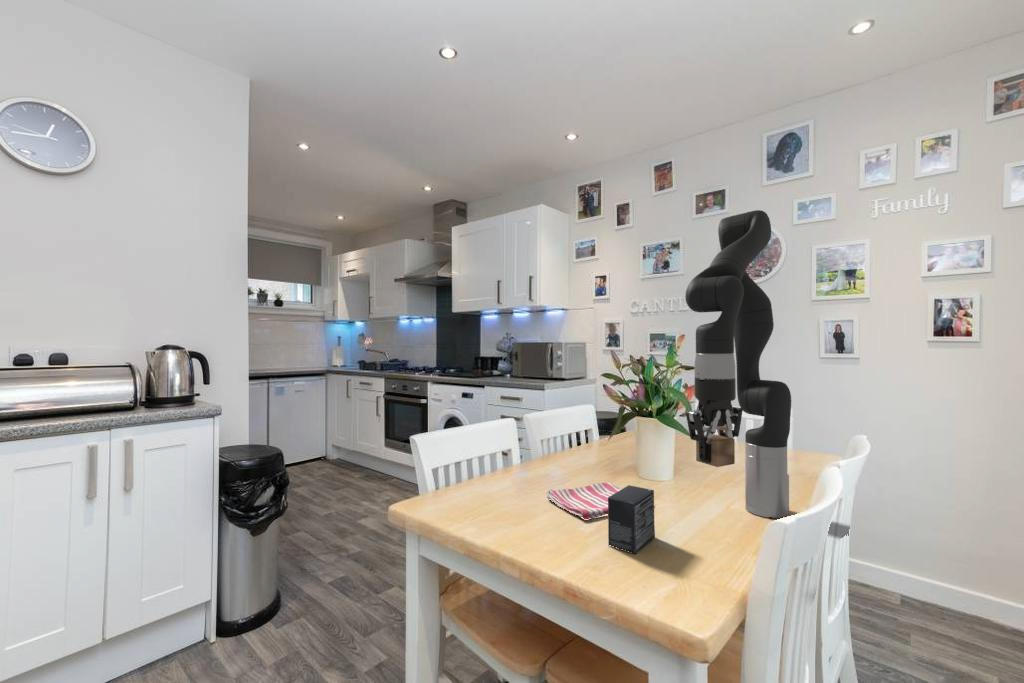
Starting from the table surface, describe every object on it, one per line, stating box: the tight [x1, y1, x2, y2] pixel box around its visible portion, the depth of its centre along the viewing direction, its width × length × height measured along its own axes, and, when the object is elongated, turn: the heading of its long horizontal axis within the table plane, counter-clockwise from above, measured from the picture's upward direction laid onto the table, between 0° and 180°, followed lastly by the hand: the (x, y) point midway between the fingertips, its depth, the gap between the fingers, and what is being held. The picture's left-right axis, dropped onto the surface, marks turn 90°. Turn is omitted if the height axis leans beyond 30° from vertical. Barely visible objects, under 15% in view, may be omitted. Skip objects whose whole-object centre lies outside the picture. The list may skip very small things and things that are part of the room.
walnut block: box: [695, 433, 736, 468], centre depth 89 cm, size 5×5×5 cm
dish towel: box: [546, 482, 623, 520], centre depth 118 cm, size 17×23×4 cm
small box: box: [607, 485, 656, 554], centre depth 95 cm, size 11×6×10 cm, turn 141°
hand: (715, 459), depth 89 cm, fingers closed on walnut block, 5 cm apart
